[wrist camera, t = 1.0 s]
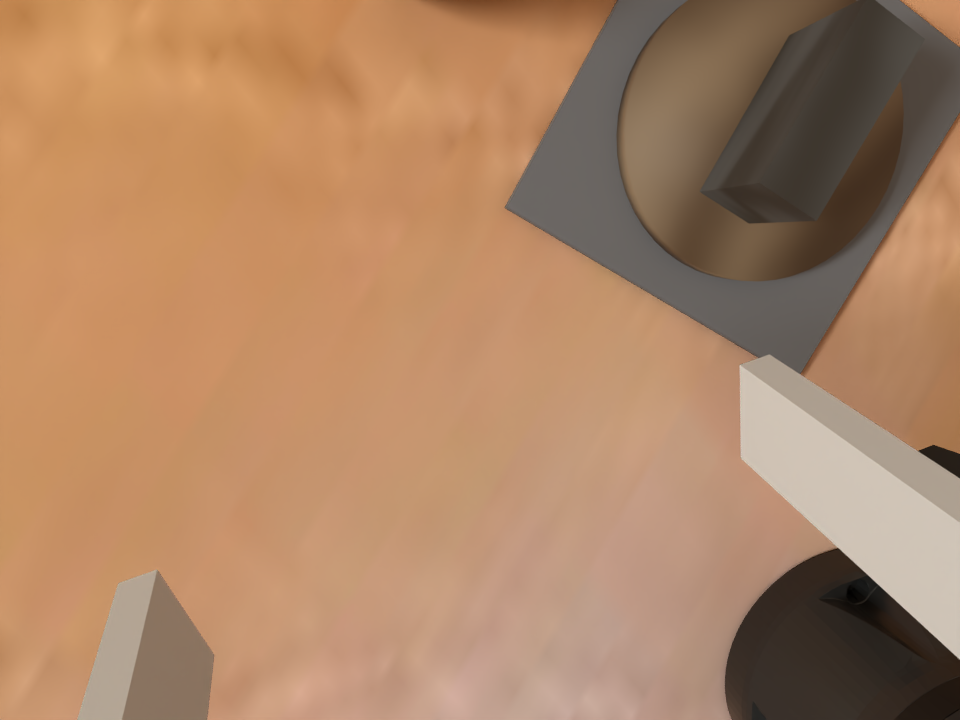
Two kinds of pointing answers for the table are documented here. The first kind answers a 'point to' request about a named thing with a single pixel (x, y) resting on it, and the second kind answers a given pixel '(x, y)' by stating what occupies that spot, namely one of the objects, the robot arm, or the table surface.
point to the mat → (639, 259)
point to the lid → (763, 130)
